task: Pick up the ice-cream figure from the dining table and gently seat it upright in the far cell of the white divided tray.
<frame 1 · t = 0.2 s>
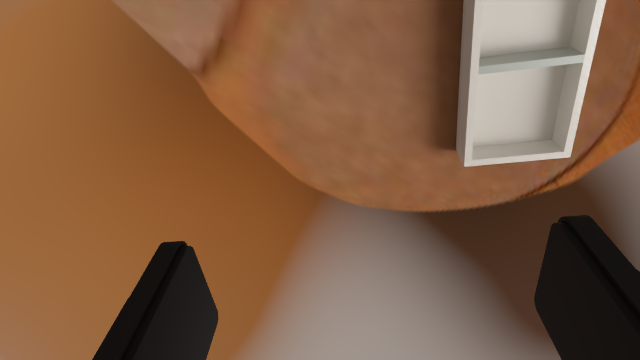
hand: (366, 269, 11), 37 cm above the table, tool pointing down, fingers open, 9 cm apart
white divided tray: (515, 53, 43), on the table
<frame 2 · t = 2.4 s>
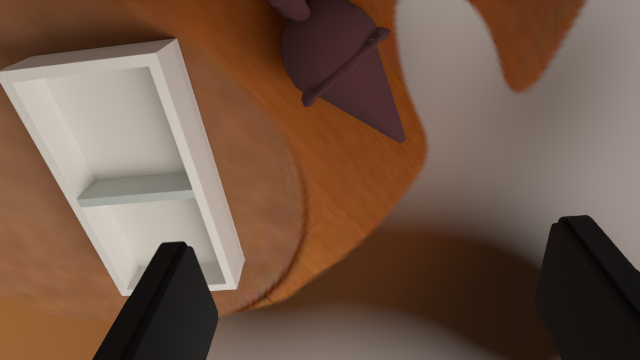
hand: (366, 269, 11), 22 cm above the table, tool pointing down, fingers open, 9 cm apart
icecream: (337, 45, 29), on the table
white divided tray: (154, 173, 36), on the table
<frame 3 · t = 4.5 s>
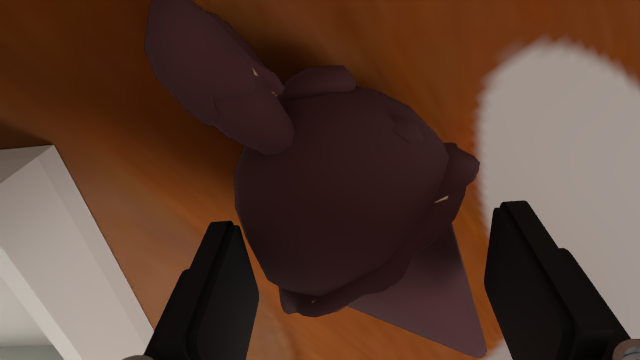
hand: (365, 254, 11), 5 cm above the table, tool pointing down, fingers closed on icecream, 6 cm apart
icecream: (355, 155, 15), on the table, touching gripper
white divided tray: (55, 334, 22), on the table
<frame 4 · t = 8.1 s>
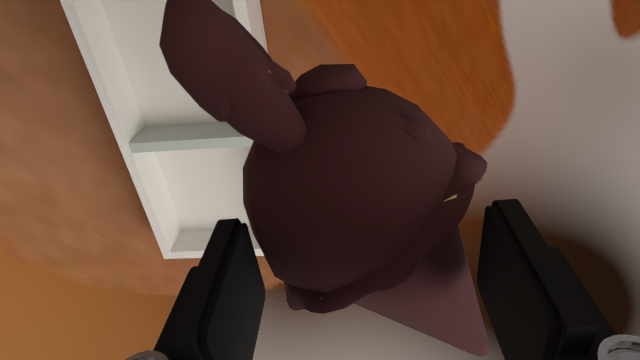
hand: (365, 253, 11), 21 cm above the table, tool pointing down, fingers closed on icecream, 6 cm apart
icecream: (360, 154, 15), point 16 cm above the table, touching gripper
white divided tray: (209, 122, 33), on the table
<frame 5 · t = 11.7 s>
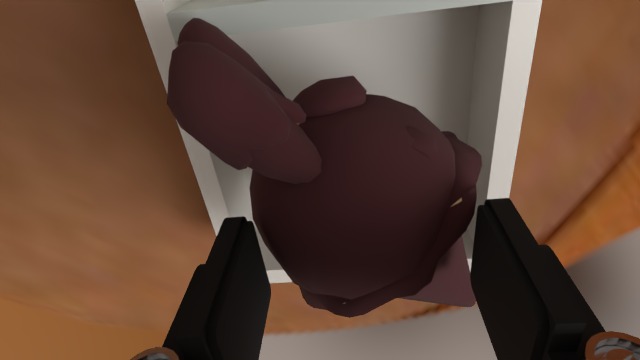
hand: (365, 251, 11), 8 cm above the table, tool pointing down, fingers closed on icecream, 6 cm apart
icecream: (349, 140, 15), point 3 cm above the table, touching white divided tray, gripper
when the fingers open (8 cm above the table, at t = 12.7 s): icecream stays where it is, resting on white divided tray.
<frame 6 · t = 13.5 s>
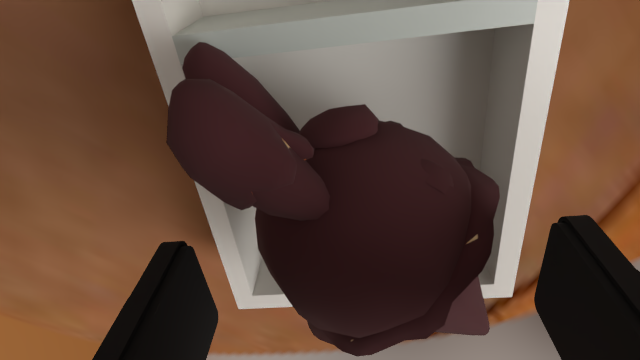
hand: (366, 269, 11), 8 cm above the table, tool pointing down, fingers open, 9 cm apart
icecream: (360, 162, 15), point 3 cm above the table, touching white divided tray
white divided tray: (346, 6, 14), on the table
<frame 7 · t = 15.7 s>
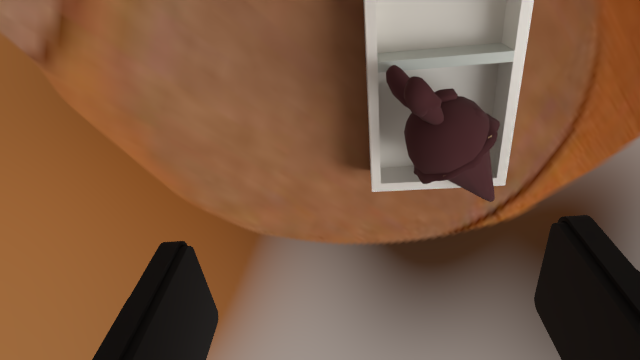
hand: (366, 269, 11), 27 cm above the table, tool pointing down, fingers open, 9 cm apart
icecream: (438, 118, 34), point 3 cm above the table, touching white divided tray
white divided tray: (434, 50, 33), on the table
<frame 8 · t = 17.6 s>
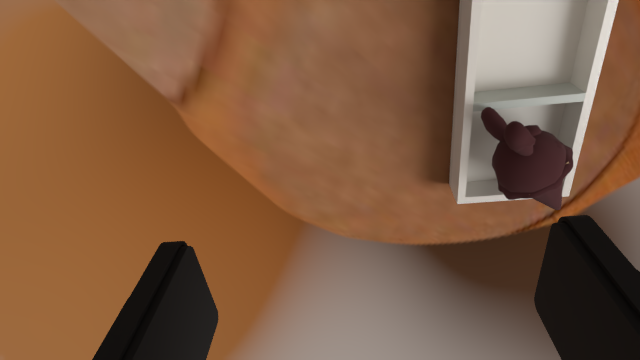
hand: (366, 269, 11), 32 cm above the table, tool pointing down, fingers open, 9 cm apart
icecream: (515, 143, 41), point 3 cm above the table, touching white divided tray
white divided tray: (512, 88, 40), on the table
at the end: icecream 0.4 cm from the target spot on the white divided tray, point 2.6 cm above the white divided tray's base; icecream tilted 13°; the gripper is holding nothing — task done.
